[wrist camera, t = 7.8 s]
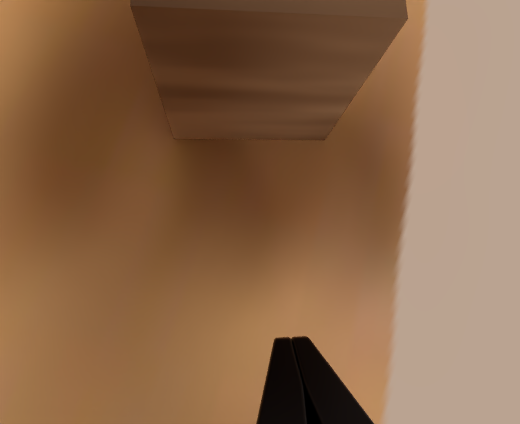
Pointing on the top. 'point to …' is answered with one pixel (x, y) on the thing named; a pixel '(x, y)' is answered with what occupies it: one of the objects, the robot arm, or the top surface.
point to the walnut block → (262, 62)
